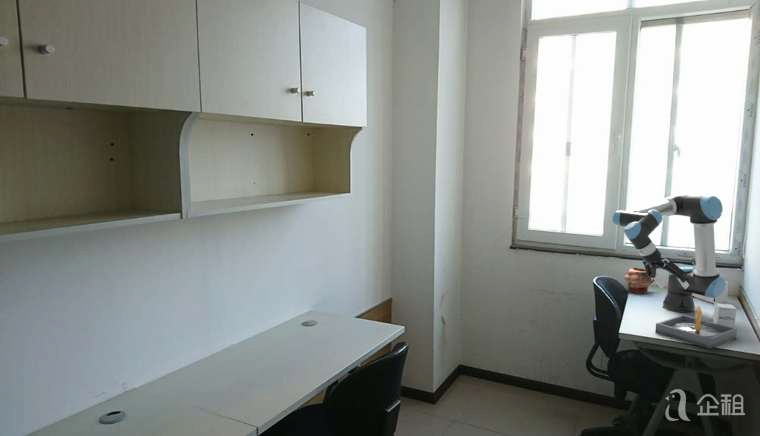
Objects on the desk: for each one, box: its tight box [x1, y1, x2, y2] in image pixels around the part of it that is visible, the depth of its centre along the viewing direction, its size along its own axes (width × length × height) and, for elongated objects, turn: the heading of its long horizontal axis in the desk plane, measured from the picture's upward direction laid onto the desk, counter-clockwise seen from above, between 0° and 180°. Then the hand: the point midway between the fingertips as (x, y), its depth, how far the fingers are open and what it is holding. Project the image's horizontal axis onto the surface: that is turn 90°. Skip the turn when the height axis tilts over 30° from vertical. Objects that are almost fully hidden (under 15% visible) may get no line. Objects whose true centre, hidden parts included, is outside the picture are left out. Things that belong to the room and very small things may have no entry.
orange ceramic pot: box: [624, 267, 655, 294], centre depth 313 cm, size 20×12×14 cm, turn 104°
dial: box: [674, 305, 717, 338], centre depth 237 cm, size 18×17×12 cm
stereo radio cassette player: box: [692, 262, 729, 305], centre depth 296 cm, size 21×8×20 cm, turn 13°
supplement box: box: [712, 303, 737, 328], centre depth 244 cm, size 7×7×13 cm
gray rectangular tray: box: [654, 314, 738, 349], centre depth 238 cm, size 24×24×4 cm
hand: (674, 287), depth 240 cm, fingers open, 13 cm apart
